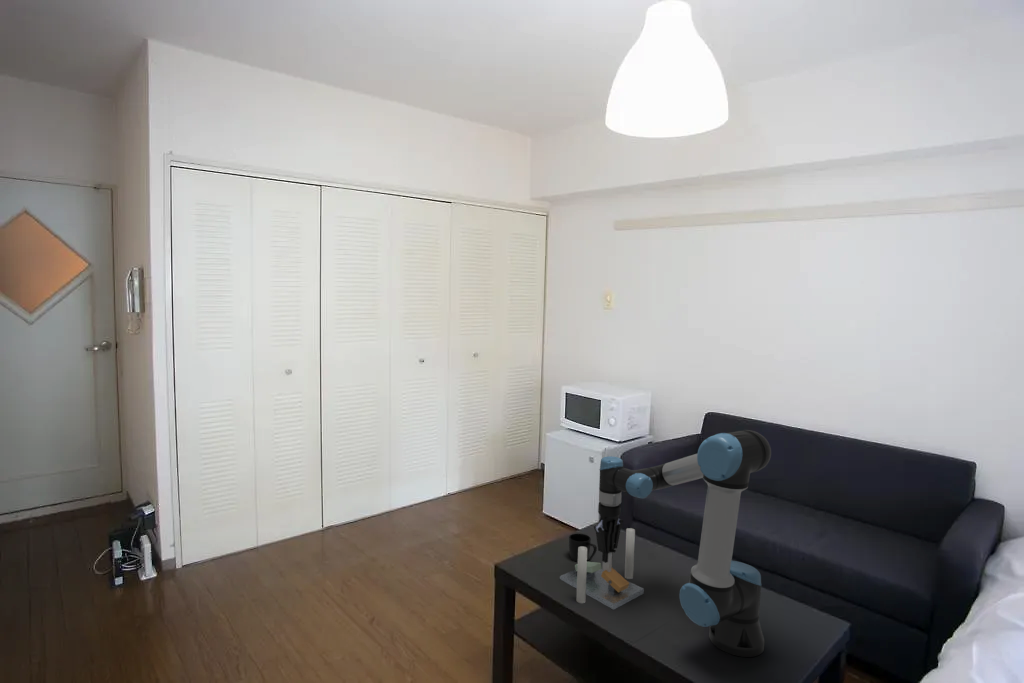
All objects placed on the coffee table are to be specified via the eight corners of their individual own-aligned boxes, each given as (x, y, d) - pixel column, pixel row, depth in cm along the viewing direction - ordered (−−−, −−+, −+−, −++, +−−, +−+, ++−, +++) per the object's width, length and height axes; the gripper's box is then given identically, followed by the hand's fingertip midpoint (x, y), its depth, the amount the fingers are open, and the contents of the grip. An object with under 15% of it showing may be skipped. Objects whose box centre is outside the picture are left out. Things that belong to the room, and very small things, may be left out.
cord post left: (587, 602, 186) (589, 548, 185) (581, 605, 184) (583, 550, 183) (580, 598, 188) (582, 545, 187) (574, 601, 186) (576, 547, 185)
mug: (587, 572, 207) (587, 547, 206) (563, 560, 216) (564, 536, 215) (601, 566, 212) (602, 541, 211) (578, 555, 221) (579, 531, 221)
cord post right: (634, 579, 202) (636, 530, 201) (629, 581, 200) (631, 532, 199) (627, 576, 205) (629, 527, 204) (622, 578, 203) (624, 529, 202)
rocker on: (602, 568, 199) (601, 562, 199) (591, 573, 195) (590, 567, 195) (586, 566, 205) (585, 560, 205) (574, 571, 201) (573, 565, 201)
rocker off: (628, 587, 190) (630, 582, 190) (617, 593, 186) (619, 588, 186) (611, 571, 196) (613, 566, 195) (600, 576, 192) (601, 571, 191)
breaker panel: (643, 594, 192) (643, 584, 192) (613, 609, 181) (614, 598, 181) (589, 568, 210) (590, 559, 210) (559, 581, 199) (560, 571, 199)
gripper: (613, 496, 199) (610, 561, 201) (588, 503, 190) (585, 571, 192) (630, 501, 193) (627, 568, 195) (606, 510, 185) (603, 580, 186)
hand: (606, 570), depth 193 cm, fingers closed, pressing on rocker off
